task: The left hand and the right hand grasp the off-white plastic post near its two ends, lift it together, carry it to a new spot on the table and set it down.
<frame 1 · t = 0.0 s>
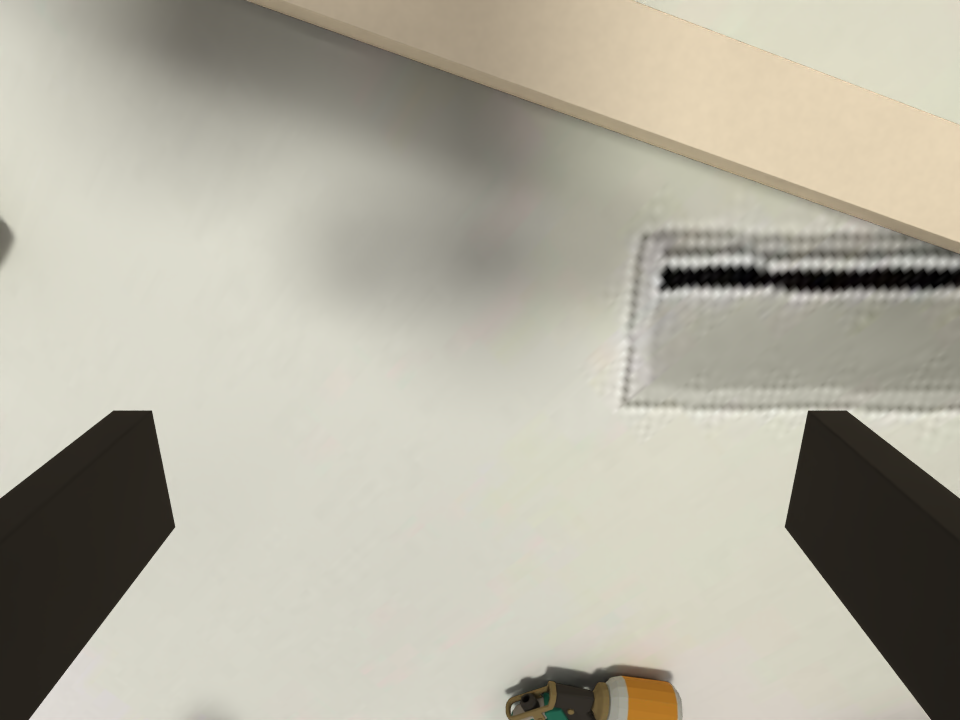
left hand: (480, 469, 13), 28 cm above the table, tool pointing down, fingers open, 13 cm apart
post: (579, 71, 36), on the table
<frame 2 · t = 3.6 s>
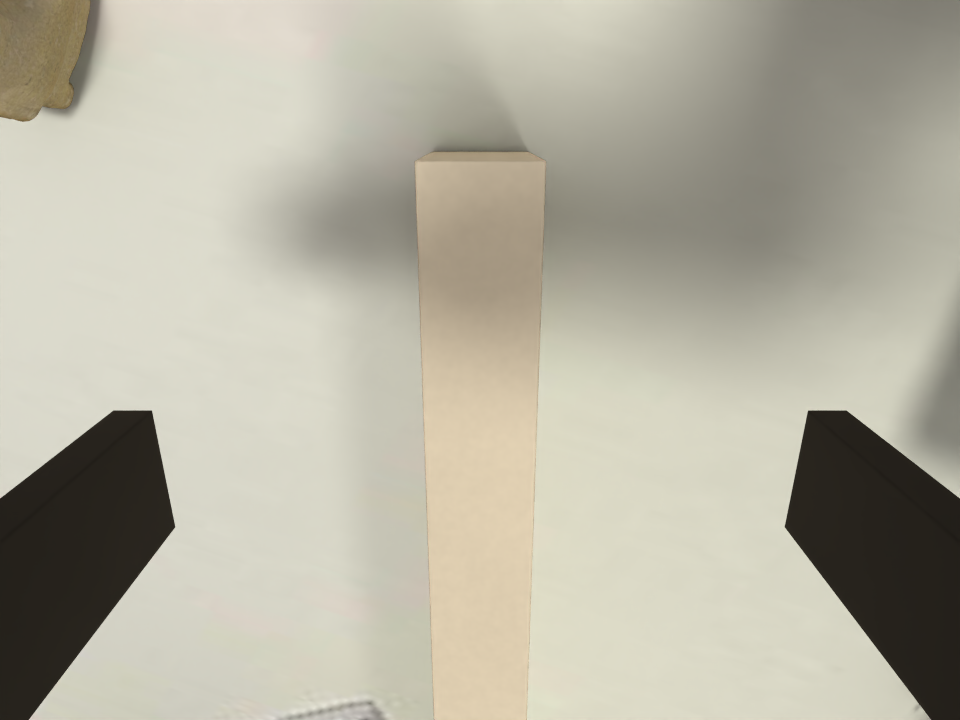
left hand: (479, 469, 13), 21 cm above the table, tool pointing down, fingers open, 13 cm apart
sculpture: (48, 32, 29), on the table
post: (480, 619, 40), on the table, touching right hand
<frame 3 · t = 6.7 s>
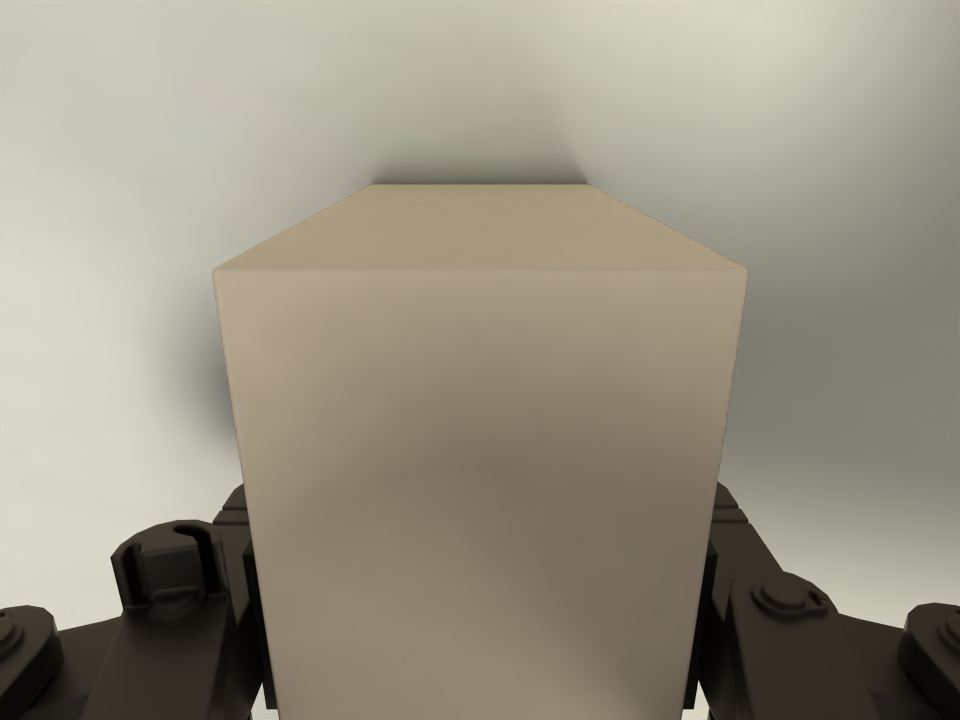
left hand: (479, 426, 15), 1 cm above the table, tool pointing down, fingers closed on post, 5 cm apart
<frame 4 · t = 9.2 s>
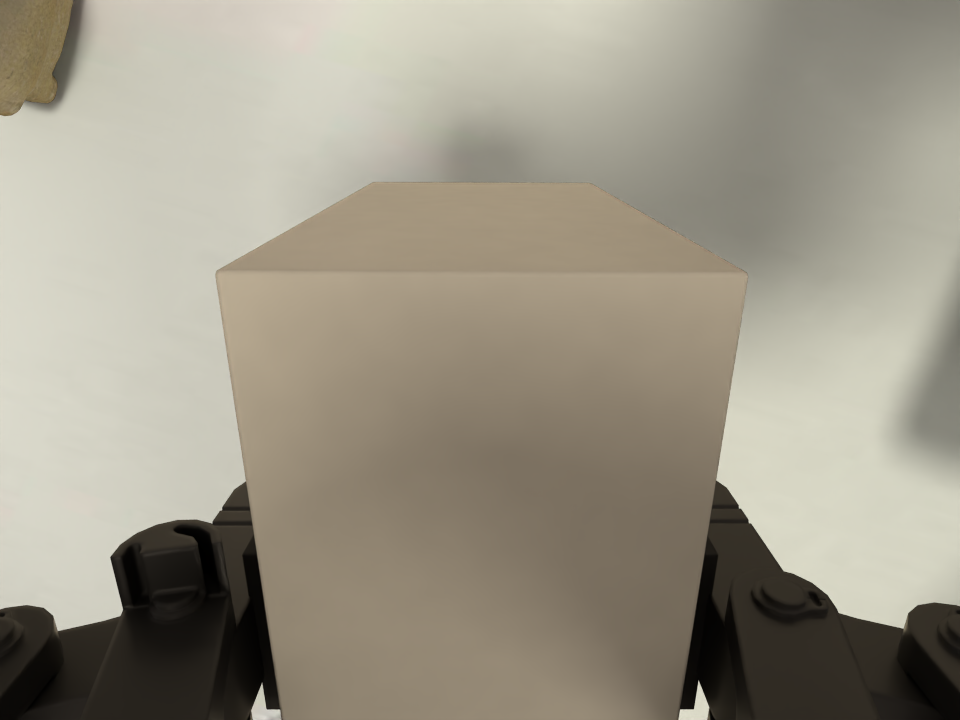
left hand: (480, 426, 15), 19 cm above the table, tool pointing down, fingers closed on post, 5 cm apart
sculpture: (30, 25, 28), on the table
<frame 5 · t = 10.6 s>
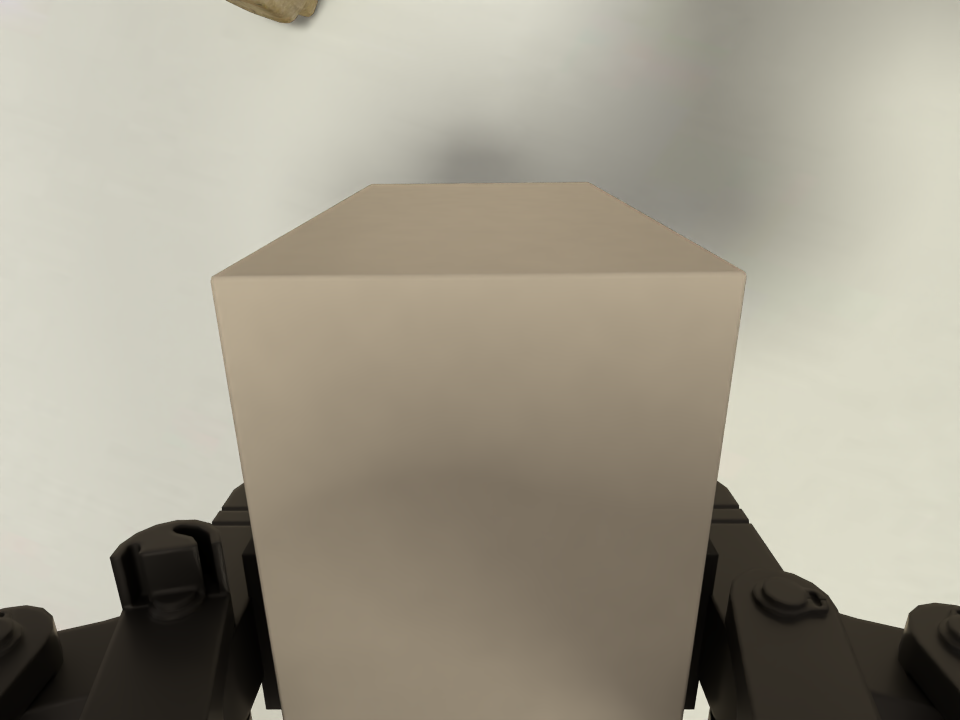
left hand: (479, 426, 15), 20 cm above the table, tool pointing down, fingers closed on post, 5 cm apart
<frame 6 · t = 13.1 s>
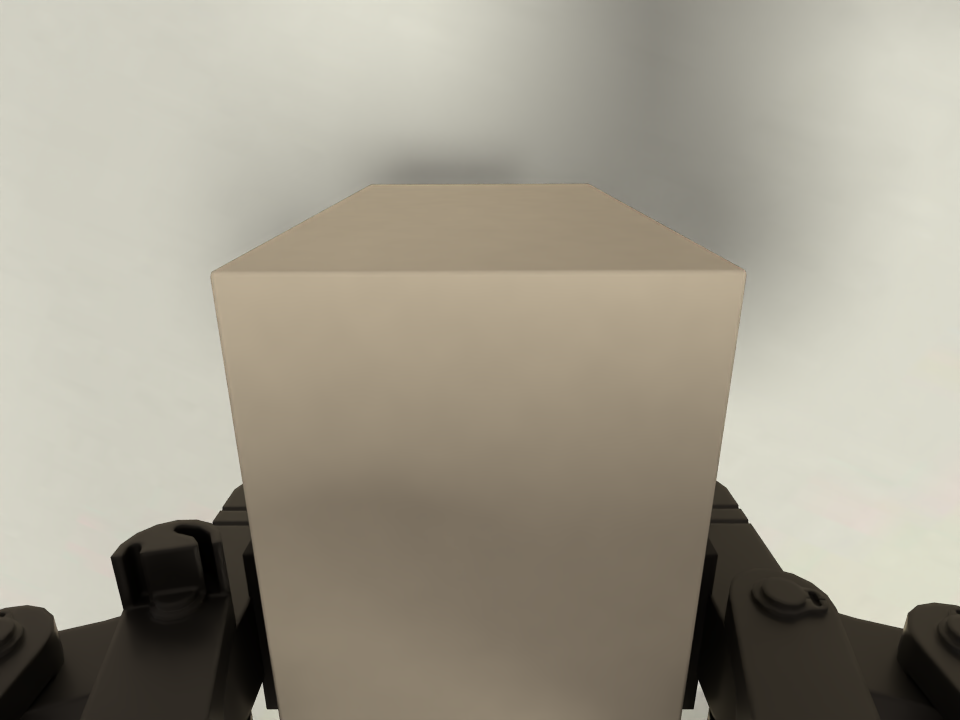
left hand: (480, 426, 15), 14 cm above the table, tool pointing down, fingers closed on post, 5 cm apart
when the left hand's fingers open (2 cm above the table, at t = 14.9 s): post drops 1 cm, on the table.
when the right hand's fingers open (5 cm above the table, at t = 15.1 s): post stays where it is, on the table.
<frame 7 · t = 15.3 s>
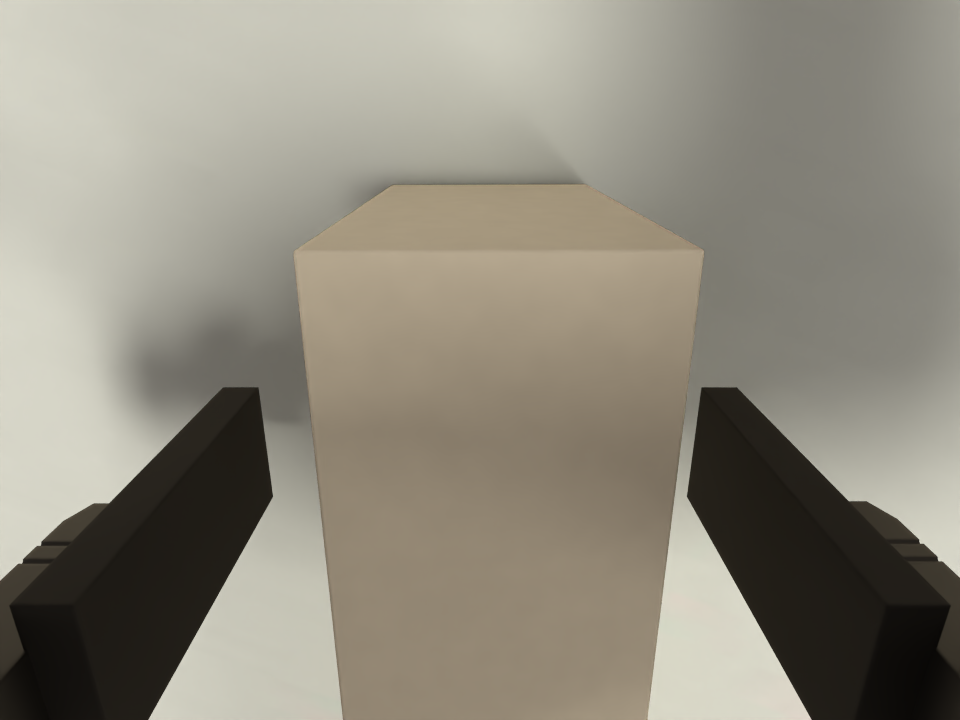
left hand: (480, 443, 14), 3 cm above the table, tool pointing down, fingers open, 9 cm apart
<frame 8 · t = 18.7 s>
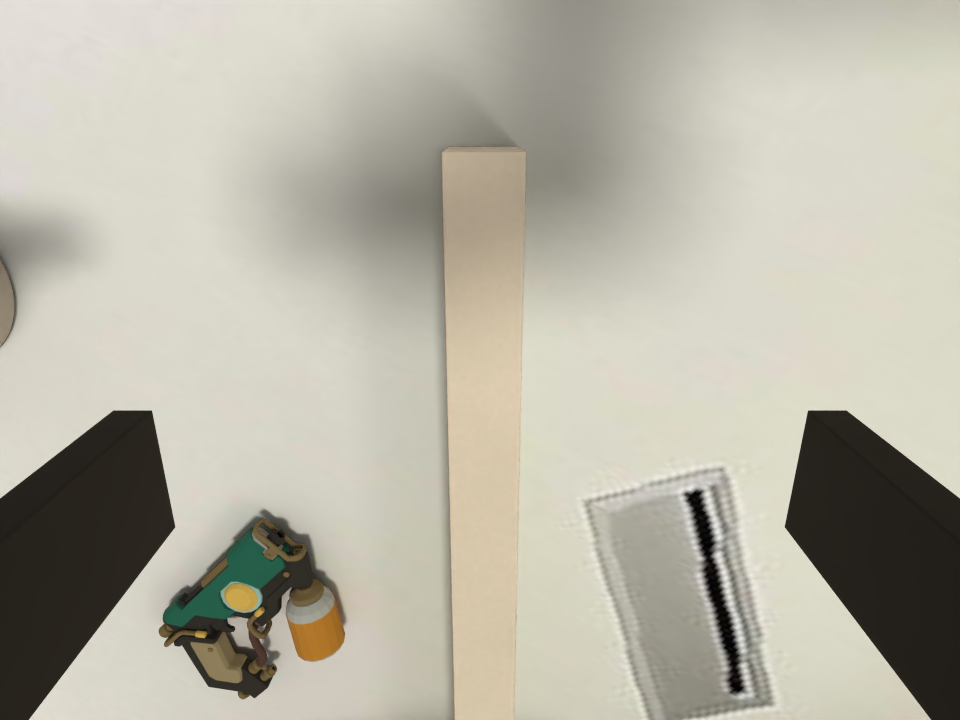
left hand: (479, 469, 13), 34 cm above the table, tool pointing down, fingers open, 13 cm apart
spray gun: (257, 600, 56), on the table
post: (483, 504, 53), on the table
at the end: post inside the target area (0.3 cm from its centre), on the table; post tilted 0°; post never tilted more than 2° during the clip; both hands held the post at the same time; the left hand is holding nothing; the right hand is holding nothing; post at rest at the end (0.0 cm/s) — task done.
